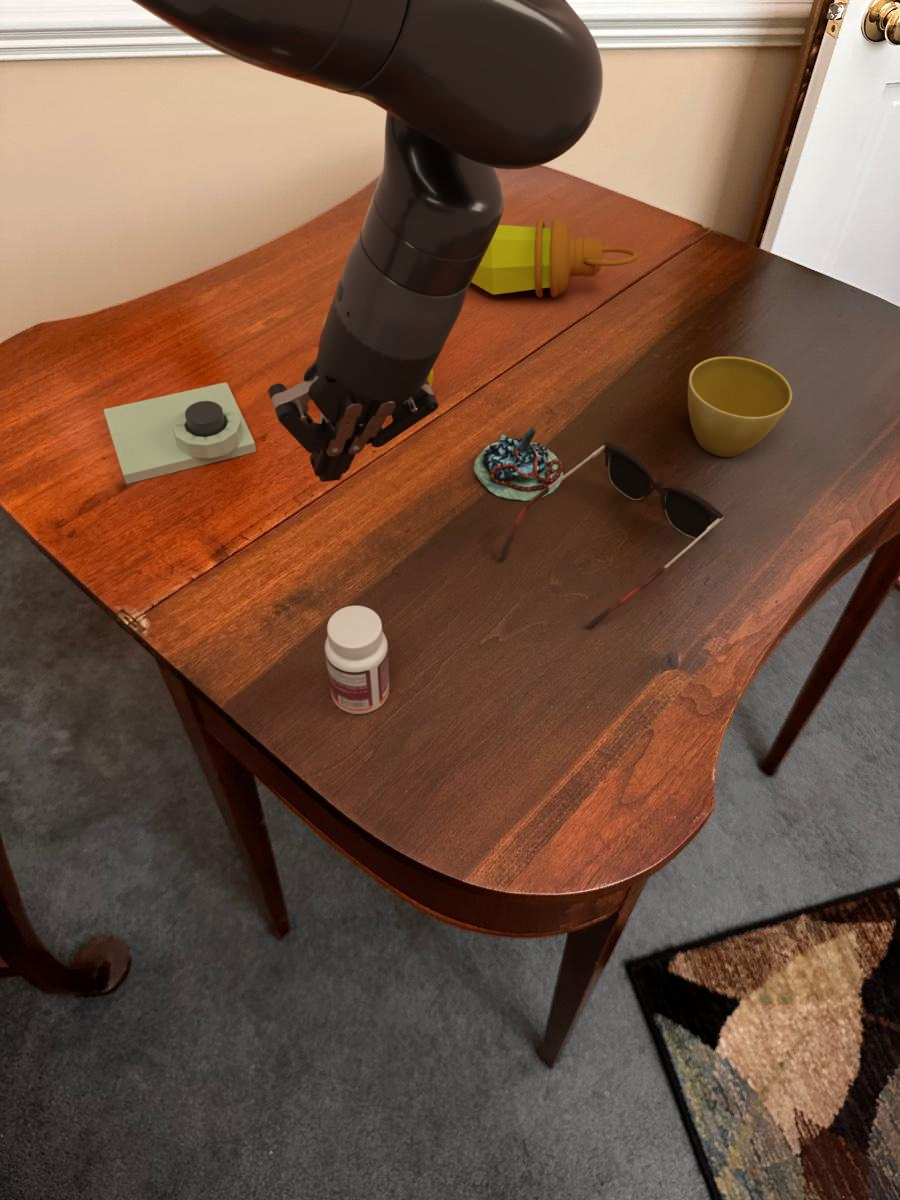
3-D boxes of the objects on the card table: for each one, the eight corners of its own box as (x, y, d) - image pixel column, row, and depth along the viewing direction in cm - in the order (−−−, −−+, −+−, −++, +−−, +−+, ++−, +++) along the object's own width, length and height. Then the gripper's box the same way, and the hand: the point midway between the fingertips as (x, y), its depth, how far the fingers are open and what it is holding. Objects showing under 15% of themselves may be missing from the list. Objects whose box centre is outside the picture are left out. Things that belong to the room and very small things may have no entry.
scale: (127, 489, 84) (119, 465, 82) (106, 418, 91) (98, 394, 89) (258, 456, 88) (254, 433, 85) (228, 390, 95) (224, 367, 92)
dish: (531, 412, 90) (538, 416, 82) (565, 471, 91) (575, 481, 84) (465, 454, 91) (466, 461, 83) (500, 511, 92) (504, 524, 85)
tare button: (193, 441, 85) (189, 427, 84) (184, 419, 87) (181, 405, 86) (229, 432, 86) (226, 418, 85) (220, 411, 88) (217, 397, 87)
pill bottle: (366, 657, 72) (361, 590, 66) (401, 695, 70) (400, 629, 63) (318, 686, 70) (308, 621, 63) (352, 726, 68) (346, 662, 61)
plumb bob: (430, 308, 108) (636, 305, 104) (425, 230, 102) (641, 224, 98) (441, 286, 115) (634, 283, 111) (437, 213, 110) (639, 207, 106)
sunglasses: (713, 549, 81) (726, 512, 77) (601, 647, 75) (608, 612, 71) (600, 475, 88) (607, 437, 84) (487, 559, 81) (489, 522, 77)
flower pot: (736, 487, 87) (758, 431, 82) (654, 441, 91) (669, 384, 86) (787, 443, 92) (811, 386, 86) (706, 400, 96) (724, 344, 91)
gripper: (313, 359, 50) (258, 522, 64) (504, 352, 56) (416, 502, 70) (275, 263, 53) (230, 440, 67) (462, 267, 59) (385, 428, 73)
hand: (326, 471), depth 68 cm, fingers closed
